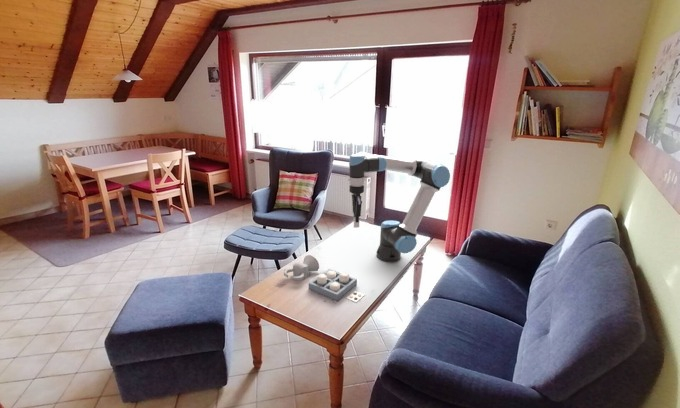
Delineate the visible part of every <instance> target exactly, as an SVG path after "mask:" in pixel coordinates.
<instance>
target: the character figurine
mask: <svg viewBox="0 0 680 408" xmlns="http://www.w3.org/2000/svg"><path fill="white" fill-rule="evenodd" d="M292 266H293V267H292V268H286V269H284V270H283V276H284V277H286V278H287V279H288V278H290V280H293V281H301V280H305V279H306V278H307V277H309V273H310V272H318V271H319V269H320V264H319V261H318V260H317V258H316V257H315V256H313V255H310V254H307V255H305V256H304V259H303V262H295V263H293V265H292ZM288 273H292V274H293V276H290V277H289V275H288Z"/></svg>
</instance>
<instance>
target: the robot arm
mask: <svg viewBox="0 0 680 408" xmlns="http://www.w3.org/2000/svg"><path fill="white" fill-rule="evenodd" d="M348 166H349V169H348V170H349V178H348V180H347V181H348V182H349V191H348V192H349V193H351V202H352V206H351V207H352V215H353V228H357V229H358V228H360V217H361V215H362V203H363V200H362V195H361V194H362V193H365V174H366V173H375V172H384V171H390V172H397V173H403V174H407V175H408V176H412V177H415V178H417V179H420V180H419V181H420V182H419V184H420V187H419V189H418V192H417V193H416V195H415V197H414V200H413V201H412V204H411V205H410V207H409V209H408V212H407V214H406V215H405V217H404V219H403V221H402V223H401V222H400V221H398V220H384V221H383V222H381V224H380V238H379V245H378V248H377V249H376V257H377V259H379V260H380V261H384V262H390V263H391V262H397V261H399V260H400V259H401V256H402V254H408V253H411V252H412V251H414V249H415V248H416V247H417V244H418V243H417V239H416V237H417V235H418V233H417V232H418V231H417V229H418V228H419V225H420V223H421V221H422V219H423V217H424V215H425V213H426V211H427V209H428V207H429V205H430V203H431V202H432V200H433V197H434V196H435V194H436V193H437V192H439V191H440V190H441V188H443V187H445V186H447V185H448V183H449V182H450V179H451V173H450V170H449V168H448V167H447V166H445V165H443V164H441V163H438V162H433V161H431V160H425V159H424V160H423V159H414V158H411V159H403V158H397V157H390V156H387V155H381V154H380V155H379V154H373V153H368V152H365V151H359V152H357V153H354V154H351V155H350V156H349V163H348Z"/></svg>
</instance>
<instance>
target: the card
mask: <svg viewBox="0 0 680 408" xmlns="http://www.w3.org/2000/svg"><path fill="white" fill-rule="evenodd" d="M364 296H365V293H361V292H358V291H356V290H354V291H353V292H352V293H350V294H349V295H347V297H346V298H345V299H347V300H349V301H351V302H354V303H356V304H357V303H358V302H359V301H360V300H361V299H363V297H364Z"/></svg>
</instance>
